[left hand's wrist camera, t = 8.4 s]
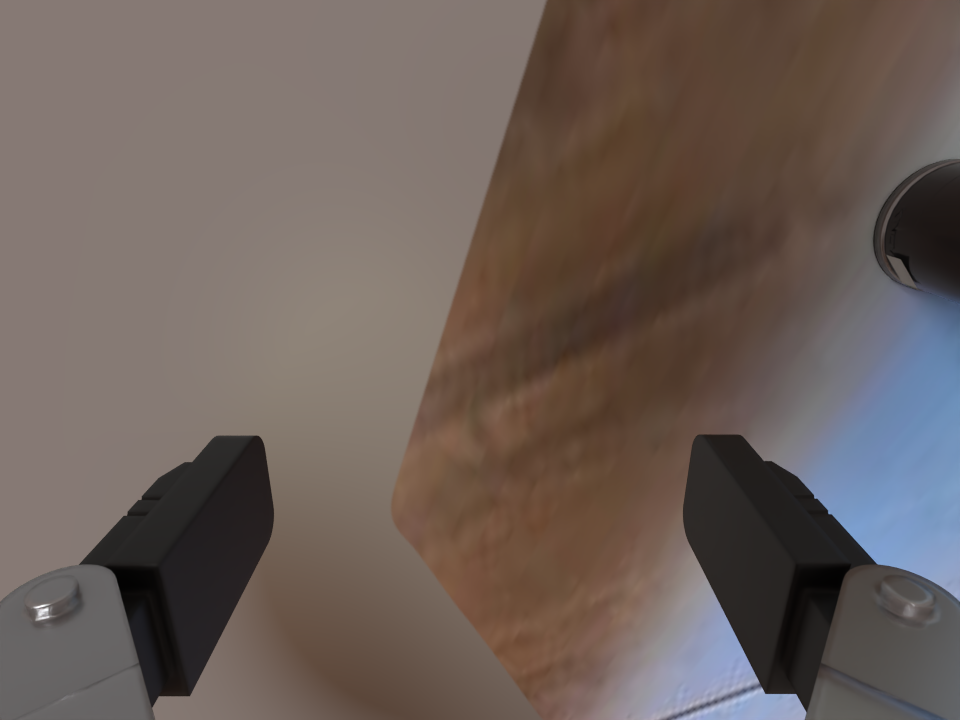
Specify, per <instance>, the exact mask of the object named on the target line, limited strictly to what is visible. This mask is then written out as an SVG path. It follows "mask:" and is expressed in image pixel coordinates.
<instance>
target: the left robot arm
mask: <svg viewBox="0 0 960 720" xmlns="http://www.w3.org/2000/svg"><path fill="white" fill-rule="evenodd" d="M874 246H875V252H876V256H877V259H878V262H879V264H880V266H881V267H882V269H883V270H884V272H885V273H886V274H887V275H888V276H889V277H891V278H892V279H893V280H895V281H896V282H898V283H900V284H902V285H905V286H908V287H910V288H913V289H916V290H921V291H926V292H928V293H931V294H934V295H936V296H939V297H941V298H944V299H947V300H950V301H952V302H955V303H958V304H960V159H950V160H944V161H940V162H937V163H934V164H931V165H929V166H927V167H924V168H922V169H921V170H919V171H917V172H916V173H914V174H913V175H911V176H910V177H909V178H907V179H906V180H905V181H904V182H903V183H902V184H901V185H899V187H898V188H897V189H896V190H895V191H894V192H893V193H892V195H891V196H890V197H889V199H888V200H887V202H886V203H885V205H884V207H883V209H882V211H881V213H880V215H879V218H878V221H877V225H876V229H875V237H874ZM273 521H274V508H273V501H272V494H271V487H270V480H269V473H268V467H267V460H266V453H265V447H264V443H263V441H262V439H261V438H260V437H259V436H216V437H214V438H213V439H212V440H211V441H210V442H209V443H208V445H207V446H206V447H205V448H204V449H203V450H202V452H201V453H200V454H199V455H198V456H197V457H196V459H195V460H194V461H193V462H185V463H183V464H181V465H180V466H178V467H176V468H175V469H173V470H171V471H170V472H168V473H166V474H165V475H163V476H161V477H160V478H158V479H157V481H156V482H155V483H154V484H153V485H152V486H151V487H150V488H149V489H148V490H147V491H146V493H145V494H144V495H143V496H142V500H138V501H137V502H136V503H135V504H134V505H133V507H132V508H131V509H130V510H129V511H128V514H127V516H123V517H122V518H121V520H120V521H119V522H118V523H117V524H116V525H115V526H114V527H113V528H112V529H111V530H110V531H109V533H108V534H107V535H106V536H105V537H104V538H103V539H102V540H101V541H100V542H99V543H98V545H97V546H96V547H95V548H94V549H93V550H92V551H91V552H90V553H89V554H88V555H87V556H86V558H85V559H84V560H83V561H82V562H81V563H80V564H79V565H75V566H69V567H65V568H61V569H58V570H54V571H51V572H48V573H46V574H43V575H41V576H38V577H36V578H34V579H32V580H30V581H28V582H27V583H25V584H23V585H21V586H20V587H18V588H17V589H15V590H14V591H12V592H11V593H10V594H9V595H7V596H6V597H5V598H4V599H3V600H2V601H1V602H0V720H155V717H154V714H153V710H152V707H153V705H154V704H155V702H156V700H157V698H158V697H159V696H190V695H191V693H192V691H193V689H194V687H195V685H196V683H197V681H198V679H199V677H200V675H201V673H202V671H203V669H204V667H205V666H206V664H207V662H208V660H209V658H210V656H211V654H212V652H213V650H214V648H215V646H216V644H217V642H218V640H219V638H220V636H221V634H222V632H223V630H224V628H225V626H226V625H227V623H228V621H229V619H230V617H231V615H232V613H233V611H234V609H235V607H236V605H237V603H238V601H239V599H240V597H241V595H242V593H243V591H244V589H245V587H246V586H247V584H248V582H249V580H250V578H251V576H252V574H253V572H254V570H255V568H256V566H257V564H258V562H259V560H260V558H261V556H262V554H263V552H264V550H265V548H266V546H267V545H268V542H269V540H270V537H271V533H272V529H273ZM683 522H684V528H685V533H686V536H687V539H688V542H689V544H690V546H691V548H692V550H693V552H694V554H695V556H696V558H697V560H698V561H699V563H700V565H701V567H702V569H703V571H704V573H705V575H706V577H707V579H708V581H709V583H710V585H711V587H712V589H713V591H714V593H715V595H716V597H717V599H718V601H719V603H720V605H721V607H722V609H723V611H724V613H725V615H726V617H727V619H728V621H729V623H730V625H731V627H732V629H733V631H734V633H735V635H736V637H737V639H738V641H739V643H740V644H741V646H742V648H743V650H744V652H745V654H746V656H747V658H748V660H749V662H750V664H751V666H752V668H753V670H754V672H755V674H756V676H757V678H758V680H759V682H760V684H761V686H762V688H763V690H764V692H765V694H797V696H798V698H799V700H800V701H801V703H802V705H803V707H804V709H805V710H806V712H807V714H806V717H805V720H960V602H959V601H958V600H957V599H956V598H955V597H954V596H953V595H951V594H950V593H949V592H948V591H946V590H945V589H943V588H942V587H940V586H939V585H937V584H935V583H933V582H932V581H930V580H928V579H926V578H924V577H922V576H919V575H917V574H914V573H912V572H909V571H906V570H903V569H899V568H895V567H891V566H885V565H877V564H876V562H875V561H874V560H873V559H872V558H871V557H870V556H869V555H868V554H867V553H866V552H865V550H864V549H863V548H862V547H861V546H860V545H859V544H858V543H857V542H856V541H855V539H854V538H853V537H852V536H851V535H850V534H849V533H848V532H847V531H846V530H845V529H844V527H843V526H842V525H841V524H840V523H839V522H838V521H837V520H836V519H835V518H834V517H833V515H832V514H828V510H827V509H826V508H825V507H824V506H823V504H822V503H821V502H820V501H819V500H818V499H814V495H813V494H812V492H811V491H810V490H809V489H808V488H807V487H806V486H805V485H804V484H803V483H802V482H801V480H800V479H799V478H798V477H797V476H795V475H793V474H792V473H790V472H788V471H787V470H785V469H783V468H782V467H780V466H779V465H777V464H775V463H774V462H772V461H763V460H762V458H761V457H760V456H759V455H758V454H757V453H756V451H755V450H754V449H753V448H752V447H751V446H750V444H749V443H748V442H747V441H746V440H745V439H744V438H743V437H742V436H741V435H697V436H696V438H695V439H694V441H693V445H692V450H691V457H690V464H689V471H688V478H687V485H686V491H685V498H684V505H683Z"/></svg>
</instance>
